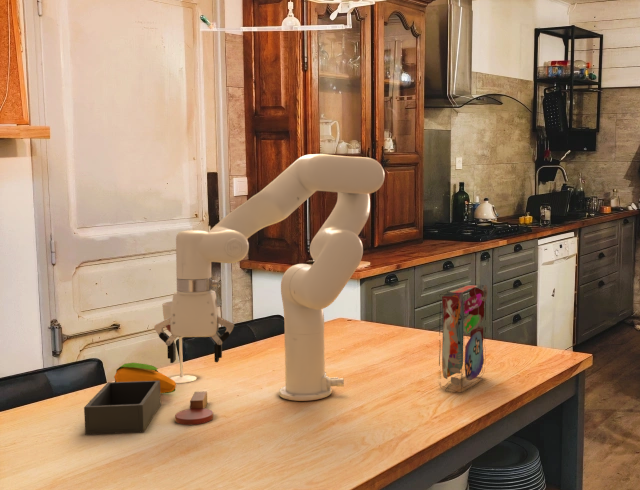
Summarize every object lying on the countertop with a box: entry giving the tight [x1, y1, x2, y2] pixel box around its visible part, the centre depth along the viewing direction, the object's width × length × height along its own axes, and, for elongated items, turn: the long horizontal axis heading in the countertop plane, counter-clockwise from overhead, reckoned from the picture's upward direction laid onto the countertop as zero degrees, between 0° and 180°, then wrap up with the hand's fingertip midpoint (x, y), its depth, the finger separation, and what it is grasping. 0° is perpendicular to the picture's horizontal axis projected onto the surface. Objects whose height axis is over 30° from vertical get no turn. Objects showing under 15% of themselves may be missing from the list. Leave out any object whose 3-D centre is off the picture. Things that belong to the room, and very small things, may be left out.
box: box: [438, 284, 489, 394], centre depth 199 cm, size 25×6×24 cm, turn 153°
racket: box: [174, 390, 214, 426], centre depth 173 cm, size 8×15×3 cm, turn 7°
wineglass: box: [162, 300, 198, 384], centre depth 201 cm, size 8×9×20 cm
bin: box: [83, 381, 162, 436], centre depth 169 cm, size 12×19×6 cm, turn 7°
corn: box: [113, 362, 177, 395], centre depth 188 cm, size 7×8×20 cm
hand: (195, 361), depth 174 cm, fingers open, 9 cm apart
